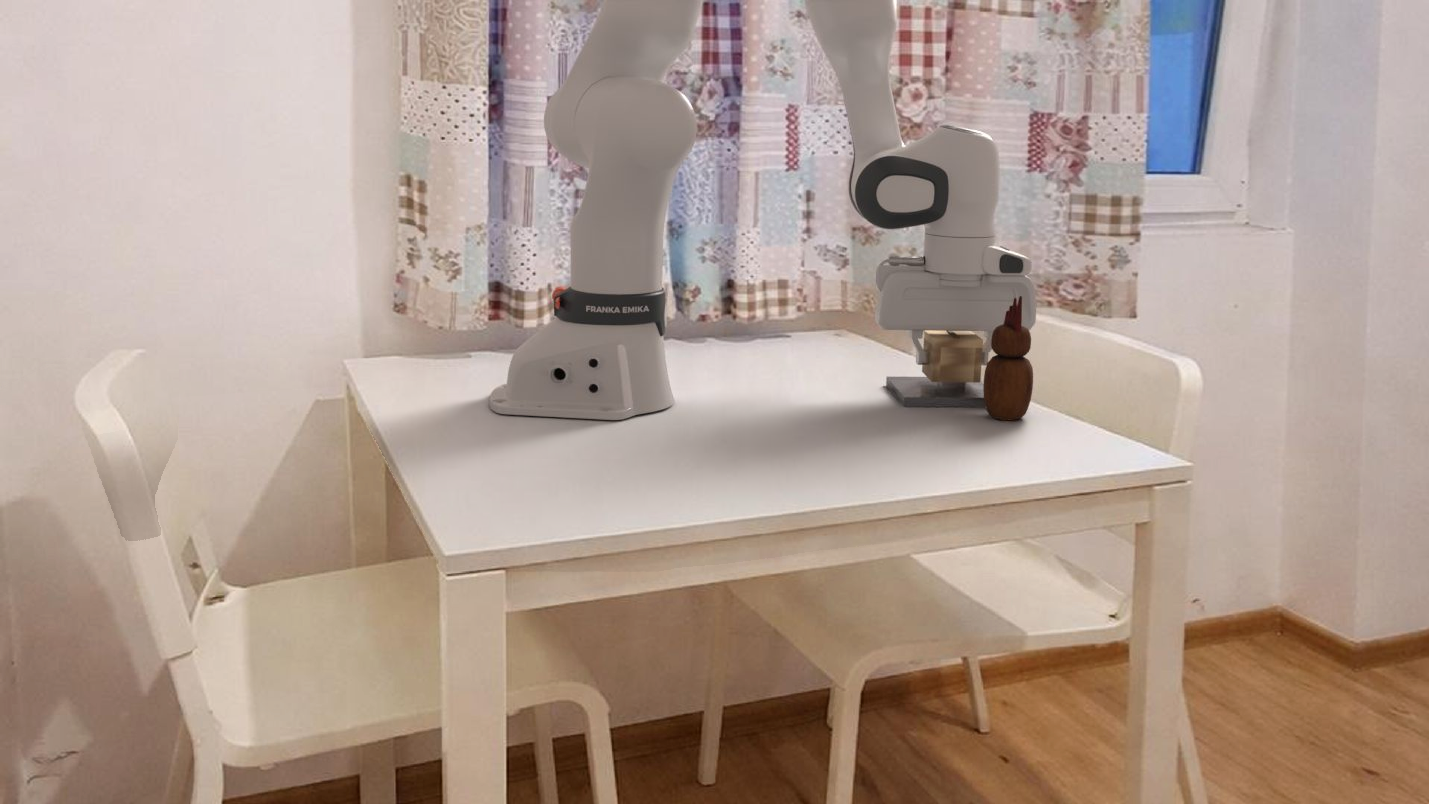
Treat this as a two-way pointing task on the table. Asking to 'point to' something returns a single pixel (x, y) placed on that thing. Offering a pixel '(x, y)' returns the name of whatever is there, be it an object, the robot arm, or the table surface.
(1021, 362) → the wooden figurine
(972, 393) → the plate
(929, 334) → the wooden coin bank
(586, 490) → the table surface
